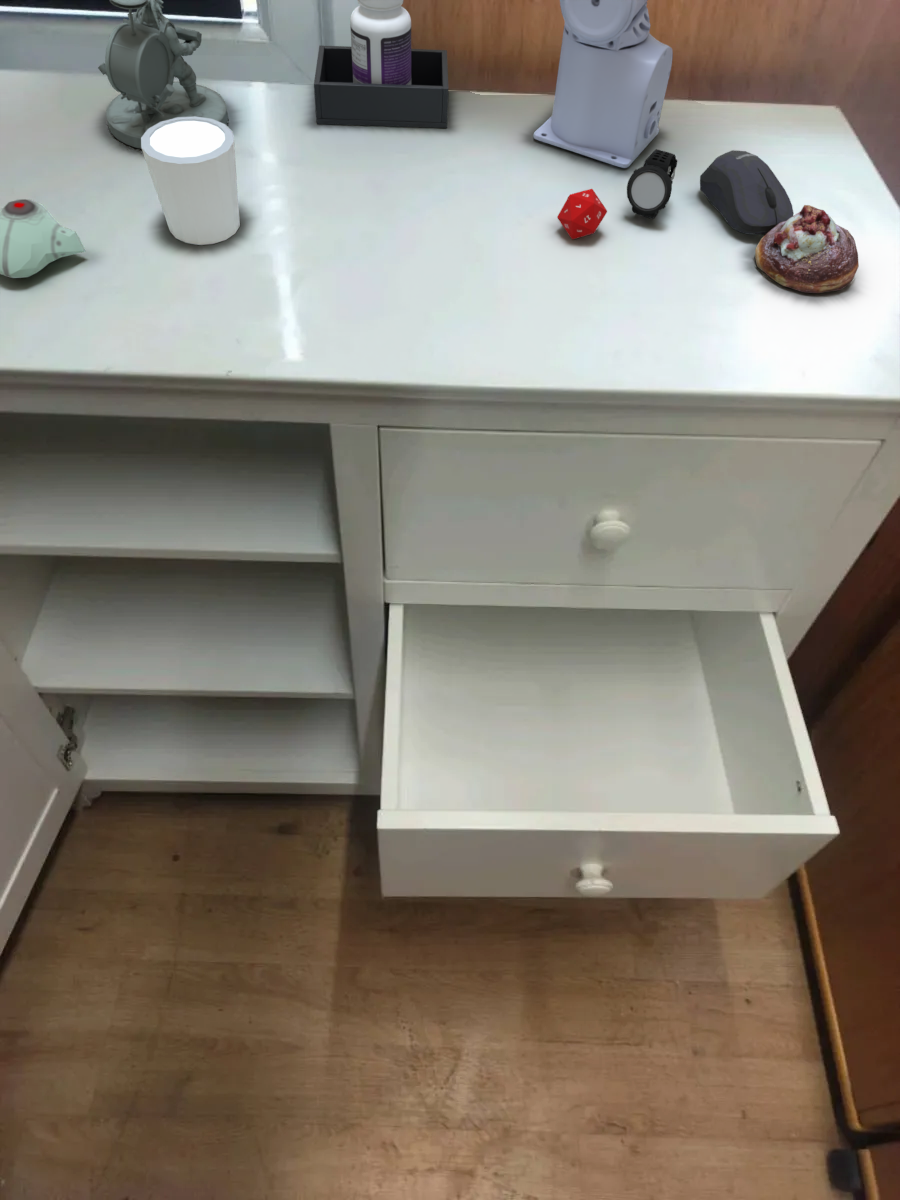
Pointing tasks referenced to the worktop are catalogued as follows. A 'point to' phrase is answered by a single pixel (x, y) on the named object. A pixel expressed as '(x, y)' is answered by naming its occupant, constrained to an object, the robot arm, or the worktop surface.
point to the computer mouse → (746, 192)
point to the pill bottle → (381, 42)
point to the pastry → (808, 253)
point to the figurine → (153, 73)
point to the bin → (381, 92)
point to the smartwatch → (652, 184)
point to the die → (582, 213)
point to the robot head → (32, 239)
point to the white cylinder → (194, 177)
